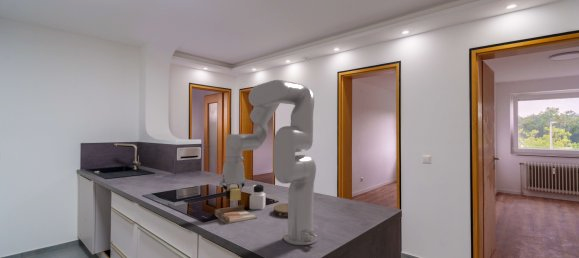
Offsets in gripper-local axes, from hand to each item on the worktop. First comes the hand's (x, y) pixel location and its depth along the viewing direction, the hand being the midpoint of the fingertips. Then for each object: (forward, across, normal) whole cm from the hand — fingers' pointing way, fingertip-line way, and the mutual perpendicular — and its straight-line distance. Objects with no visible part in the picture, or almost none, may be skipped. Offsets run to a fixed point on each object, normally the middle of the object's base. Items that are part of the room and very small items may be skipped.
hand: (233, 197), depth 131 cm
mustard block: (+1, 0, 0) cm, 1 cm away
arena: (+9, -1, +1) cm, 9 cm away
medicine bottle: (+9, -17, -7) cm, 20 cm away
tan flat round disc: (+9, -26, +10) cm, 29 cm away
